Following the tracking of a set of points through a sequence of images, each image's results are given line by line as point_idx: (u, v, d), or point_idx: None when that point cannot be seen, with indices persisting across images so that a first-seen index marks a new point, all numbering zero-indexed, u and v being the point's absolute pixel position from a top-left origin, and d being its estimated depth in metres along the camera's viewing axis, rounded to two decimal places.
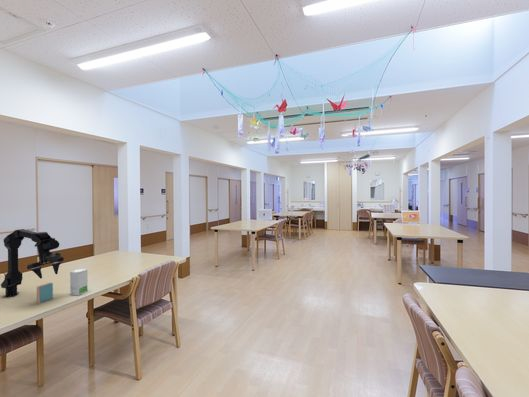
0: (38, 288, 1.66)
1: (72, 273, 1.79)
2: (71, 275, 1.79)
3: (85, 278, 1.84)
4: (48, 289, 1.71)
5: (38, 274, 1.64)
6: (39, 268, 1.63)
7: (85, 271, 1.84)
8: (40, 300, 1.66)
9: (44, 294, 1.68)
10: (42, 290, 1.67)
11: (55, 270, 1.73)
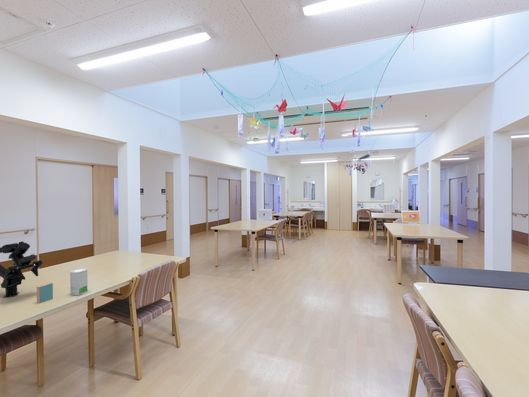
0: (38, 288, 1.66)
1: (72, 273, 1.79)
2: (71, 275, 1.79)
3: (85, 278, 1.84)
4: (48, 289, 1.71)
5: (20, 276, 1.69)
6: (19, 270, 1.69)
7: (85, 271, 1.84)
8: (40, 300, 1.66)
9: (44, 294, 1.68)
10: (42, 290, 1.67)
11: (35, 272, 1.77)
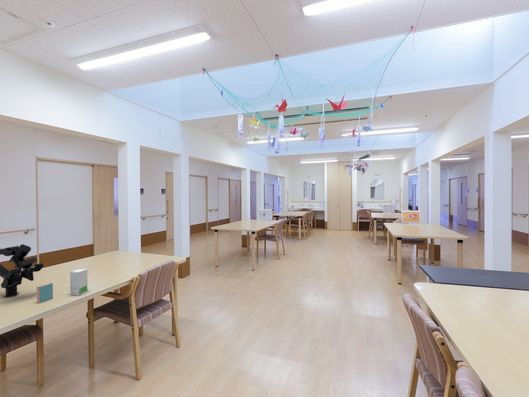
0: (38, 288, 1.66)
1: (72, 273, 1.79)
2: (71, 275, 1.79)
3: (85, 278, 1.84)
4: (48, 289, 1.71)
5: (28, 277, 1.72)
6: (26, 271, 1.72)
7: (85, 271, 1.84)
8: (40, 300, 1.66)
9: (44, 294, 1.68)
10: (42, 290, 1.67)
11: (31, 277, 1.73)
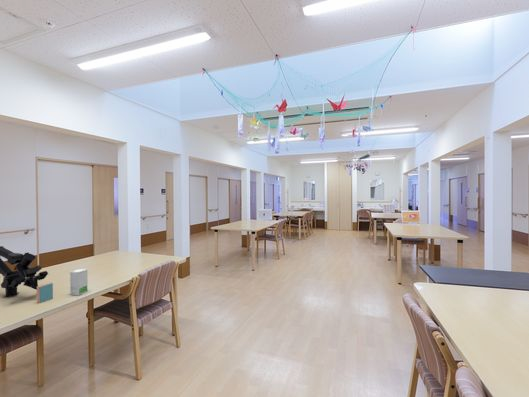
0: (38, 288, 1.66)
1: (72, 273, 1.79)
2: (71, 275, 1.79)
3: (85, 278, 1.84)
4: (48, 289, 1.71)
5: (32, 286, 1.71)
6: (31, 280, 1.71)
7: (85, 271, 1.84)
8: (40, 300, 1.66)
9: (44, 294, 1.68)
10: (42, 290, 1.67)
11: None
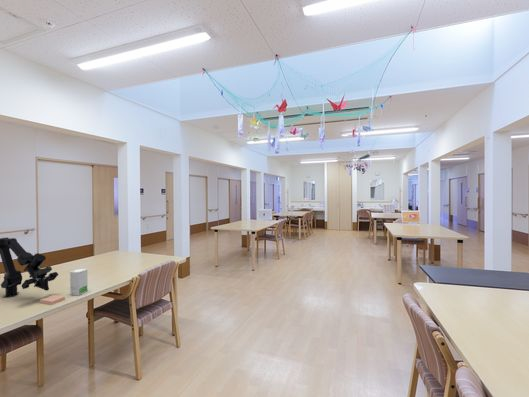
0: (50, 303, 1.63)
1: (72, 273, 1.79)
2: (71, 275, 1.79)
3: (85, 278, 1.84)
4: None
5: (43, 287, 1.69)
6: (41, 281, 1.68)
7: (85, 271, 1.84)
8: (42, 303, 1.66)
9: None
10: None
11: (46, 286, 1.70)
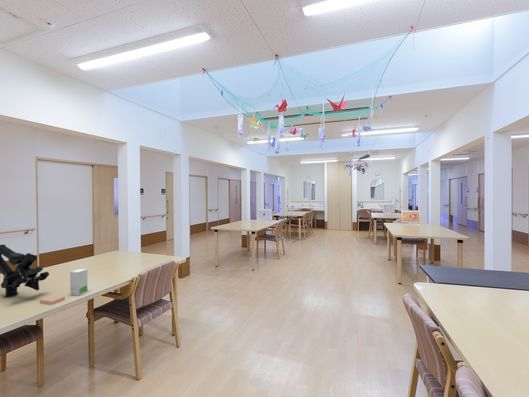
0: (50, 303, 1.63)
1: (72, 273, 1.79)
2: (71, 275, 1.79)
3: (85, 278, 1.84)
4: None
5: (33, 287, 1.71)
6: (32, 280, 1.71)
7: (85, 271, 1.84)
8: (42, 303, 1.66)
9: None
10: None
11: (36, 286, 1.72)
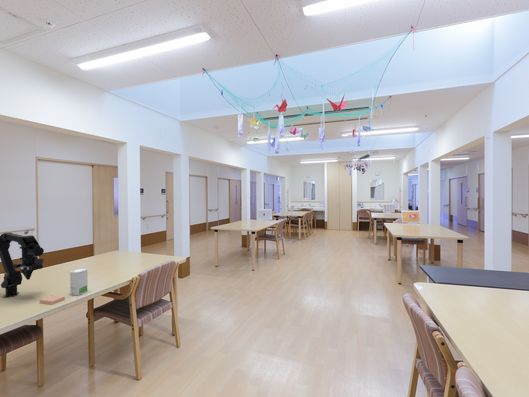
0: (50, 303, 1.64)
1: (72, 273, 1.79)
2: (71, 275, 1.79)
3: (85, 278, 1.84)
4: None
5: (29, 275, 1.73)
6: None
7: (85, 271, 1.84)
8: (42, 303, 1.66)
9: None
10: None
11: None
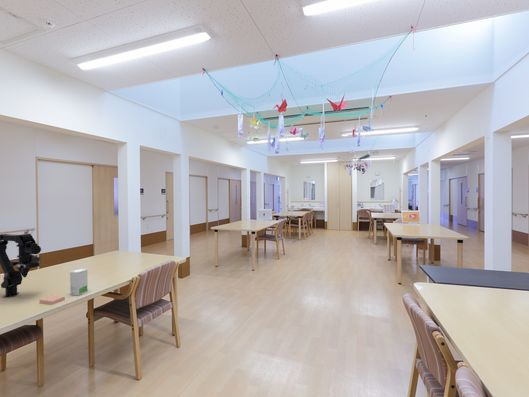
0: (50, 303, 1.64)
1: (72, 273, 1.79)
2: (71, 275, 1.79)
3: (85, 278, 1.84)
4: None
5: (26, 273, 1.75)
6: None
7: (85, 271, 1.84)
8: (42, 303, 1.66)
9: None
10: None
11: None
